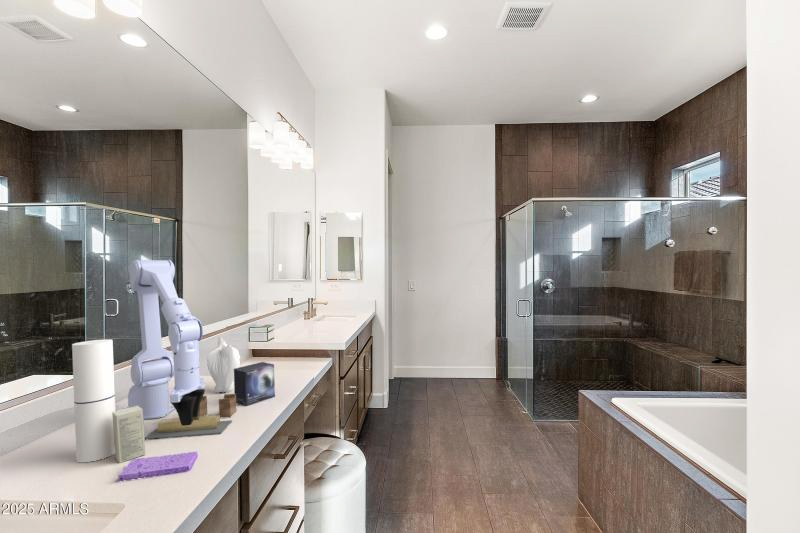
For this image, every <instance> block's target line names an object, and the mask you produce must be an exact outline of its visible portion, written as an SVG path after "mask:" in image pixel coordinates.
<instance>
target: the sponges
mask: <svg viewBox="0 0 800 533" xmlns="http://www.w3.org/2000/svg"><path fill="white" fill-rule="evenodd" d="M198 456H199V453H198V451H190V452H182V453H177V454H166V455H160V456H159V455H157V456H148V457H136V458H133V459H130V462H128V464H127V465H126V466H125V467H124V468H123V470H122V471H121V472H120V473H119V474H118V476H117V477H118V482H119V481H122V482H125V481H124V480H129V481H132V480H131V479H135V480H139V479H138V478H142V479H145V478H144V477H149V478H154V477H153V476H156V477H161V476H168V475H175V474H182V473H187V472H190V471H191V470H192V468H193V466H194V465H195V462H196V461H197V459H198Z"/></svg>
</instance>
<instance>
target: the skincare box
mask: <svg viewBox="0 0 800 533" xmlns="http://www.w3.org/2000/svg"><path fill="white" fill-rule="evenodd" d="M112 416H113V430H114V444H115V454H114V457H115V460H116V459H117V460H116V462H117V463H118V462H119V463H118V464H121V463H124V462H126V461H127V462H128V461H131V460H132V459H137V458H140V457H142V456H144V455H145V456H146V452H147V451H146V442H145V441H146V440H145V438H144V437H145V426H144V424H145V423H144V419H143V410H142V408H141V407H139V406H134V407H130V408H128V407H127V408H123V409H118V410H115V412H112Z"/></svg>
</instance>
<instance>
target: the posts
mask: <svg viewBox="0 0 800 533" xmlns="http://www.w3.org/2000/svg"><path fill="white" fill-rule="evenodd" d="M237 410H238V409H237V403H236V394H235V393H227V394H223V398H219V399H218V415H220V419H222V418H221V417H229V418H232V417H233V416H234V415H235V414H236V413H237ZM234 413H235V414H234ZM207 414H208V395H203V397H202V399H201V402H200V406H199V411H198V416H197V417H200V416H204V415H205V416H207ZM233 414H234V415H233ZM232 415H233V416H232ZM231 416H232V417H231Z"/></svg>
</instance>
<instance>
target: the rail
mask: <svg viewBox="0 0 800 533" xmlns="http://www.w3.org/2000/svg"><path fill="white" fill-rule="evenodd" d="M220 421H221V418H220V415H219V414H218V415H216V414H214V415H205V416H200V417H192V423H191V425H184V426H182V425H181V422H180V419H179V417H174V418H161V420H160V421H158V422H157V428H158V433H162V432H175V431H188V430H201V429H214V428H217V427H218V426H219V425H220Z"/></svg>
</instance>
